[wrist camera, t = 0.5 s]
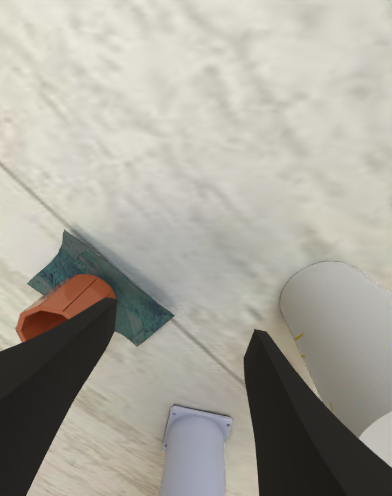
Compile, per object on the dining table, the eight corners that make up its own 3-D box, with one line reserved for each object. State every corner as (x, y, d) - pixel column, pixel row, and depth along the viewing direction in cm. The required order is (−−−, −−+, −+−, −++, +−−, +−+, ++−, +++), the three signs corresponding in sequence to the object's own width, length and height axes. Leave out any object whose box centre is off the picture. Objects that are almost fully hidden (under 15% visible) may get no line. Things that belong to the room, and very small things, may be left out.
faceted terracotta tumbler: (117, 325, 22) (89, 371, 17) (62, 314, 22) (19, 356, 17) (120, 279, 20) (90, 316, 15) (60, 267, 20) (11, 299, 15)
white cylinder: (262, 307, 22) (314, 457, 11) (323, 244, 19) (479, 358, 8) (323, 345, 23) (428, 519, 12) (389, 292, 20) (608, 450, 9)
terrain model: (180, 304, 22) (176, 317, 20) (137, 343, 25) (131, 357, 23) (72, 222, 20) (58, 228, 18) (39, 275, 23) (24, 285, 21)
